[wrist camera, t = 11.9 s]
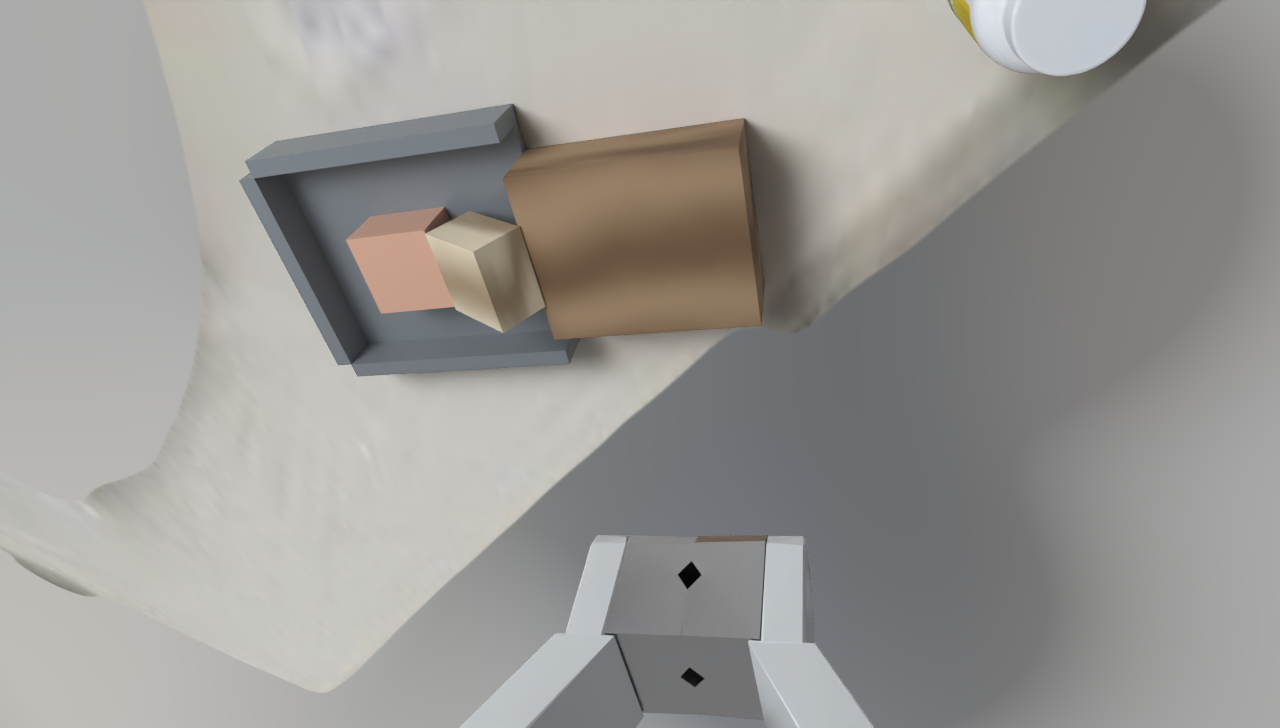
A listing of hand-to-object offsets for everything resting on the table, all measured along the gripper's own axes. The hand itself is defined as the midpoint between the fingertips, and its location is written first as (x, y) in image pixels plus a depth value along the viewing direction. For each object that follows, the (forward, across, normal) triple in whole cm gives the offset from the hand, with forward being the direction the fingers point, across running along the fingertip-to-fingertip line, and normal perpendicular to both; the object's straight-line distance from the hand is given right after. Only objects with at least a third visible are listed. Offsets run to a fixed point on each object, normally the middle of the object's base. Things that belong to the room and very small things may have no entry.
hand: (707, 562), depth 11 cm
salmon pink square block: (+28, +22, +9) cm, 36 cm away
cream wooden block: (+28, +16, +9) cm, 34 cm away
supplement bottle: (+31, -10, -1) cm, 33 cm away
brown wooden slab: (+31, +8, +9) cm, 33 cm away
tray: (+31, +21, +9) cm, 39 cm away
